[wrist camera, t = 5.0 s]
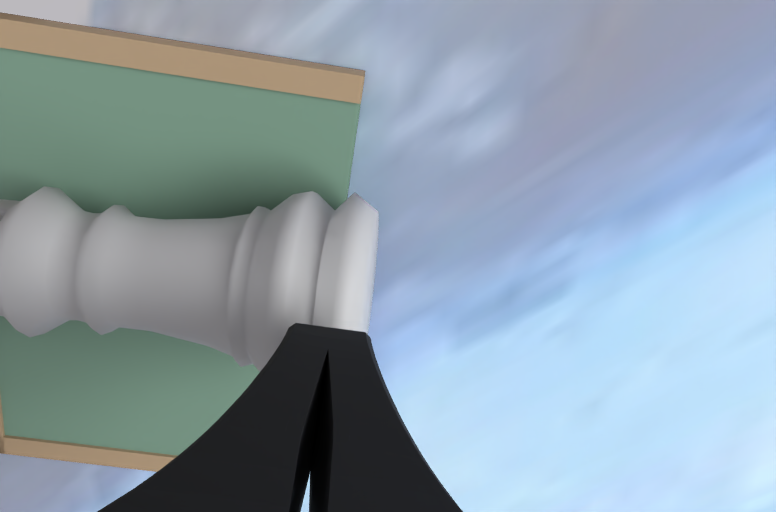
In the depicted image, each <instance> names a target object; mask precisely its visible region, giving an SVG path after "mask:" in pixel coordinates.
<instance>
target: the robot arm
mask: <svg viewBox="0 0 776 512" xmlns="http://www.w3.org/2000/svg"><path fill="white" fill-rule="evenodd" d="M309 474H310V500H309V512H463V511H462V510H461V509H460V508H459V506H458V505H457V504H456V503H455V501H454V500H453V499H452V497H451V496H450V495H449V493H448V492H447V491H446V489H445V488H444V487H443V485H442V484H441V483H440V481H439V480H438V478H437V477H436V475H435V474H434V473H433V471H432V470H431V468H430V467H429V465H428V464H427V462H426V460H425V459H424V457H423V456H422V454H421V452H420V451H419V449H418V448H417V446H416V444H415V442H414V441H413V439H412V437H411V435H410V433H409V432H408V430H407V428H406V426H405V424H404V422H403V421H402V419H401V417H400V415H399V413H398V411H397V408H396V406H395V404H394V402H393V400H392V398H391V396H390V393H389V391H388V389H387V387H386V384H385V382H384V380H383V377H382V374H381V372H380V369H379V366H378V364H377V361H376V358H375V354H374V351H373V347H372V343H371V338H370V337H369V336H368V335H367V333H366V332H361V331H353V330H346V329H339V328H331V327H324V326H316V325H309V324H301V323H295V324H293V325H292V326H290V327H289V328H288V330H287V332H286V334H285V336H284V338H283V340H282V342H281V343H280V345H279V346H278V348H277V349H276V351H275V352H274V354H273V355H272V357H271V358H270V360H269V361H268V362H267V364H266V365H265V366H264V368H263V369H262V370H261V371H260V373H259V374H258V375H257V376H256V378H255V379H254V380H253V381H252V383H251V384H250V385H249V386H248V388H247V389H246V390H245V391H244V392H243V393H242V395H241V396H240V397H239V398H238V399H237V400H236V401H235V402H234V403H233V404H232V405H231V406H230V407H229V409H228V410H227V411H226V412H225V413H224V414H223V415H222V416H221V417H220V418H219V419H218V420H217V421H216V422H215V423H214V424H213V425H212V426H211V427H210V428H209V429H208V430H207V431H206V432H205V433H204V434H202V435H201V436H200V437H199V438H198V439H197V440H196V441H195V442H194V443H192V444H191V445H190V446H189V447H188V448H187V449H185V450H184V451H183V452H182V453H181V454H180V455H178V456H177V457H176V458H174V459H173V460H172V461H171V462H169V463H168V464H167V465H165V466H164V467H163V468H162V469H160V470H159V471H158V472H156V473H155V474H154V475H152V476H151V477H150V478H148V479H147V480H146V481H144V482H143V483H141V484H140V485H138V486H137V487H136V488H134V489H133V490H131V491H129V492H128V493H126V494H125V495H123V496H122V497H120V498H118V499H117V500H115V501H114V502H112V503H110V504H109V505H107V506H106V507H104V508H102V509H101V510H99V511H98V512H300V511H301V507H302V503H303V499H304V495H305V490H306V486H307V482H308V478H309Z"/></svg>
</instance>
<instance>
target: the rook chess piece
mask: <svg viewBox="0 0 776 512" xmlns="http://www.w3.org/2000/svg"><path fill="white" fill-rule="evenodd" d="M0 220H1V221H0V316H4V317H5V318H6V319H7V321H8V322H9V323H10V324H11V325H12V326H13V327H14V328H15V330H17V331H19V332H21V333H23V334H24V335H26V336H28V337H34V336H37V335H41V334H45V333H47V332H49V331H51V330H52V329H54V328H56V327H58V326H60V325H62V324H63V323H65V322H67V321H69V320H78V321H82V322H86V323H87V324H88V325H89V326H90V327H91V329H93V330H94V331H96V332H97V333H99V334H100V335H103V334H106V333H109V332H112V331H114V330H116V329H117V328H119V327H120V328H128V329H137V330H145V331H152V332H155V333H159V334H163V335H167V336H171V337H175V338H178V339H182V340H186V341H190V342H194V343H198V344H202V345H205V346H209V347H211V348H213V349H216V350H218V351H221V352H223V353H225V354H228V355H230V356H233V358H234V360H235V361H236V362H237V363H238V364H239V366H240V367H243V366H247V365H251V364H254V366H255V367H256V368H257V369H258V370H259V371H261V370H262V369H263V368H264V366H265V365H266V364H267V362H268V361H269V360H270V358H271V357H272V355H273V354H274V352H275V351H276V349H277V348H278V346H279V345H280V343H281V342H282V340H283V338H284V336H285V334H286V332H287V330H288V328H289V327H290V326H292V325H293V324H295V323H301V324H309V325H316V326H324V327H331V328H339V329H346V330H353V331H361V332H366V333H367V335H368V330H369V322H370V315H371V307H372V298H373V289H374V280H375V270H376V258H377V247H378V229H379V214H378V211H377V210H376V209H374V208H373V207H372V206H371V205H370V204H368V203H367V202H366V201H365V200H364V199H363V198H361V197H360V196H359V195H358V194H356V193H355V192H354V193H353V194H352V195H351V196H350V197H349V198H348V199H347V200H346V201H345V202H344V203H343V204H341V205H340V206H339V207H338V208H337V209H336V210H334V209H333V208H332V207H331V206H330V205H329V204H328V203H327V202H326V201H325V200H324V199H323V198H322V197H321V196H320V195H319V194H318V193H315V192H313V191H310V192H304V193H298V194H293V195H291V196H290V197H289V198H287V199H286V200H284V201H283V202H282V203H280V204H279V205H278V206H276V207H275V208H274V209H272V210H269V209H267V208H265V207H261V206H257V207H256V208H255V209H254V210H253V211H252V213H251V214H245V215H239V216H232V217H226V218H213V219H166V220H164V219H155V218H146V217H138V216H135V215H134V214H133V213H131V212H130V211H129V210H128V209H127V208H126V207H125V206H123V205H113V206H111V207H110V208H108V209H107V210H105V211H104V212H102V213H91V212H87V211H84V210H83V209H82V208H80V207H79V206H78V205H77V204H76V203H75V202H74V201H73V200H72V199H71V198H69V197H68V196H67V195H66V194H65V193H64V192H63V191H62V190H61V189H60V188H54V187H46V186H44V187H42V188H41V189H39V190H38V191H36V192H34V193H33V194H31V195H30V196H28V197H27V198H25V199H24V200H22V201H16V200H4V199H0Z"/></svg>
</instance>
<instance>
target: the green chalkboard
mask: <svg viewBox="0 0 776 512" xmlns="http://www.w3.org/2000/svg"><path fill="white" fill-rule="evenodd" d="M364 77H365V71H363V70H357V69H351V68H345V67H338V66H332V65H326V64H320V63H313V62H307V61H301V60H295V59H288V58H282V57H276V56H270V55H263V54H257V53H251V52H245V51H238V50H232V49H226V48H219V47H213V46H207V45H201V44H194V43H188V42H182V41H176V40H169V39H163V38H157V37H151V36H144V35H138V34H132V33H126V32H119V31H113V30H107V29H101V28H94V27H88V26H82V25H76V24H69V23H63V22H56V21H50V20H44V19H38V18H32V17H25V16H19V15H13V14H7V13H0V199H4V200H16V201H22V200H24V199H25V198H27V197H28V196H30V195H31V194H33V193H34V192H36V191H38V190H39V189H41V188H42V187H44V186H46V187H54V188H60V189H61V190H62V191H63V192H64V193H65V194H66V195H67V196H68V197H69V198H71V199H72V200H73V201H74V202H75V203H76V204H77V205H78V206H79V207H80V208H82V209H83V210H84V211H87V212H91V213H102V212H104V211H105V210H107V209H108V208H110V207H111V206H113V205H123V206H125V207H126V208H127V209H128V210H129V211H130V212H131V213H133V214H134V215H135V216H138V217H146V218H155V219H164V220H166V219H213V218H226V217H232V216H239V215H245V214H251V213H252V211H253V210H254V209H255V208H256V207H257V206H261V207H265V208H267V209H269V210H272V209H274V208H275V207H276V206H278V205H279V204H280V203H282V202H283V201H284V200H286V199H287V198H289V197H290V196H291V195H293V194H298V193H304V192H310V191H313V192H315V193H318V194H319V195H320V196H321V197H322V198H323V199H324V200H325V201H326V202H327V203H328V204H329V205H330V206H331V207H332V208H333V209H334V210H336V209H337V208H338V207H339V206H340V205H341V204H343V203H344V202H345V201H346V200H347V195H348V188H349V181H350V174H351V167H352V160H353V153H354V146H355V139H356V132H357V126H358V119H359V112H360V105H361V98H362V91H363V84H364ZM0 221H1V220H0ZM259 373H260V371H259V370H258V369H257V368H256V367H255V366H254V364H251V365H247V366H243V367H240V366H239V364H238V363H237V362H236V361H235V360H234V358H233V356H230V355H228V354H225V353H223V352H221V351H218V350H216V349H213V348H211V347H209V346H205V345H202V344H198V343H194V342H190V341H186V340H182V339H178V338H175V337H171V336H167V335H163V334H159V333H155V332H152V331H145V330H137V329H128V328H120V327H119V328H117V329H116V330H114V331H112V332H109V333H106V334H103V335H100V334H99V333H97V332H96V331H94V330H93V329H91V327H90V326H89V325H88V324H87V323H86V322H82V321H78V320H69V321H67V322H65V323H63V324H62V325H60V326H58V327H56V328H54V329H52V330H51V331H49V332H47V333H45V334H41V335H37V336H34V337H28V336H26V335H24V334H23V333H21V332H19V331H17V330H15V328H14V327H13V326H12V325H11V324H10V323H9V322H8V321H7V319H6V318H5V317H4V316H0V453H2V454H11V455H19V456H28V457H36V458H45V459H53V460H62V461H70V462H79V463H87V464H96V465H104V466H113V467H121V468H130V469H138V470H147V471H155V472H158V471H159V470H160V469H162V468H163V467H164V466H165V465H167V464H168V463H169V462H171V461H172V460H173V459H174V458H176V457H177V456H178V455H180V454H181V453H182V452H183V451H184V450H185V449H187V448H188V447H189V446H190V445H191V444H192V443H194V442H195V441H196V440H197V439H198V438H199V437H200V436H201V435H202V434H204V433H205V432H206V431H207V430H208V429H209V428H210V427H211V426H212V425H213V424H214V423H215V422H216V421H217V420H218V419H219V418H220V417H221V416H222V415H223V414H224V413H225V412H226V411H227V410H228V409H229V407H230V406H231V405H232V404H233V403H234V402H235V401H236V400H237V399H238V398H239V397H240V396H241V395H242V393H243V392H244V391H245V390H246V389H247V388H248V386H249V385H250V384H251V383H252V381H253V380H254V379H255V378H256V376H257V375H258V374H259Z"/></svg>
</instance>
